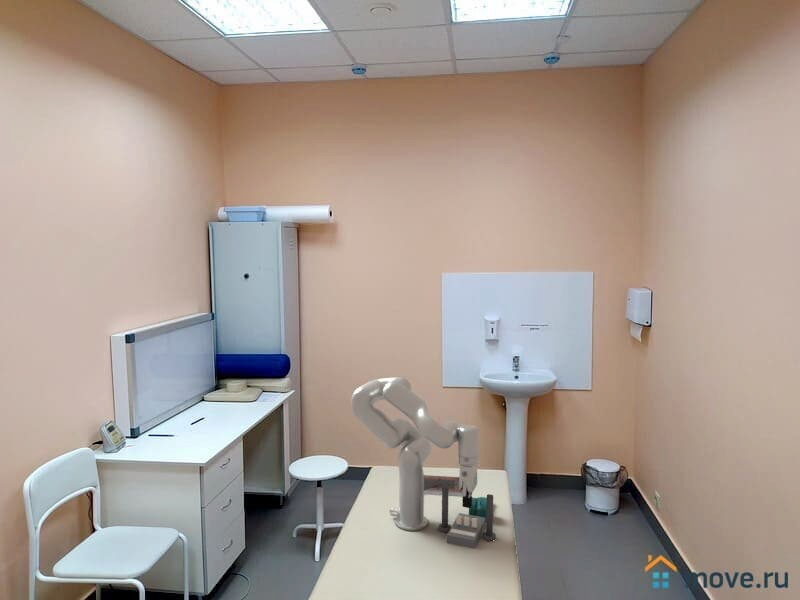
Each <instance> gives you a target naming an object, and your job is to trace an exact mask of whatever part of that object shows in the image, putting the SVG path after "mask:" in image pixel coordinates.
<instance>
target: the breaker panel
mask: <svg viewBox="0 0 800 600" xmlns="http://www.w3.org/2000/svg"><path fill="white" fill-rule="evenodd" d="M458 515H460V516H462V517H470V518H471V519H472V518H476V519H478V520H477V528H474V527H472V521H470V525H469V526H464V520H462V524H461V525H458V524H456V519H455V520H454V522H453V523H452V525H451V528H450V530H449V532H448V533H446V543H447V544H452V545H456V546H462V547H466V548H470V549H476V548H477V544H478V543H479V540H480V538H481V536H482V534H483V532H484V529H485V528H486V523H485V521H486V518H484V517H479V516H473V515H469V513H468V514H466V513H461V512H459V513H458ZM481 533H482V534H481Z"/></svg>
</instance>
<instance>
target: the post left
mask: <svg viewBox="0 0 800 600" xmlns="http://www.w3.org/2000/svg"><path fill="white" fill-rule="evenodd" d="M448 494H449V488H447V487H443V488H442V495H441V523H439V524H438V526H437V529H438V532H440V533H441V534H442V533H443V534H447V533H448V532H449V530H450V528H451V527H452V525H451V524H449V496H448Z"/></svg>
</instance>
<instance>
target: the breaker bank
mask: <svg viewBox="0 0 800 600" xmlns="http://www.w3.org/2000/svg"><path fill="white" fill-rule="evenodd" d="M455 520H456V524H458V525H461V524H462V520H464V526H469V525H470V521H472V527H474V528H477V520H478V519H476V518H472V519H471V518H470V517H462V516H460V515H459V514H456V517H455Z"/></svg>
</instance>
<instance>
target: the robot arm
mask: <svg viewBox="0 0 800 600" xmlns="http://www.w3.org/2000/svg"><path fill="white" fill-rule="evenodd" d="M382 400H385V401H387V402H388V403H389V404H390V405H391V406H393V407H394V408H396V409H397V410H398V411H400V412H401V413H403V414H404V415H405V416H406V417H407V418H409V419H410V421H412V422H413V424H412V423H411V422H410V421H408V420H407V419H406V418H402V417H395V418H393V419H391V418H390V417H389V416H388V415H387V414H386V413H384V412H383V411H382V410H381V409H379V408H377V407H376V406H374V404H376V403H377V402H379V401H382ZM350 406H351V411H352V413H353V414H354V417H356V418H357V419H358V421H360V422H361V423H362V424H363V425H364V426H365V427H366V428H367V429H368V430H369V431H370V432H371V433H372V434H373V435H374V436H375V437H376V438H377V439H378V440H379V441H380V442H381V443H382V444H383V445H384V446H385V447H387V448H388V449H396V448H398V447H400V445H401V446H402V447H401V449H400V450H399V453H398V456H397V465H398V472H399V473H398V476H399V480H398V482H399V483H398V485H399V487H398V489H399V494H398V495H399V499H398V500H399V501H398V502H399V505H398V507H399V508H393V507H390V508H389V513H390V514H389V515H390V516H392V517H395V518H394V519H395V520H394V523H395V526H396V527H398V528H399V529H401V530H403V531H409V532H410V531H413V532H414V531H420V530H423V529H424V528H425V527H427V526H428V518H427V516H425V513H424V511H425V510H424V509H425V507H424V506H425V503H424V501H425V499H424V497H425V494H424V475H425V474H424V469H423V465H424V463H425V461H427V459H428V457H430V455H431V452H432V446H431V444H430V443H432V444H433V445H435V446H436V447H438V448H440V449H449V448H450V447H452V446H453V444H454V443H457V464H458V465H459V476H458V477H459V490H460V491H462V496H461V497H462V505H461V506H462V507H463V508H467V509H469V508H471V506H472V498H473V493H474V491H475V489H476V488H477V485H478V464H479V451H480V450H479V443H480V441H479V440H480V439H479V438H480V430H479V428H478V427H477V425H473V424H462V423H461V422H456V421H453V420H448V421H445V422H444V423H442V424H440V423H438V422H436V421H435V420H434V419H433V417H431V415H430V413H429V411H428V408H427V407H428V406H427V403H426V401H425V400H424V399H423V398H421V397H419V395H417V394H415V393H414V392H413V391H412V385H411V382H410V381H409V380H408V379H406V377H405V378H404V377H400V376H398V377H397V376H396V377H387V378H379V379H373V380H370V381H368V382H366V383H365V384H362V385H360V386H359V387H357V389H355V391H354V392H353V393H352V396H351V400H350Z"/></svg>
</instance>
